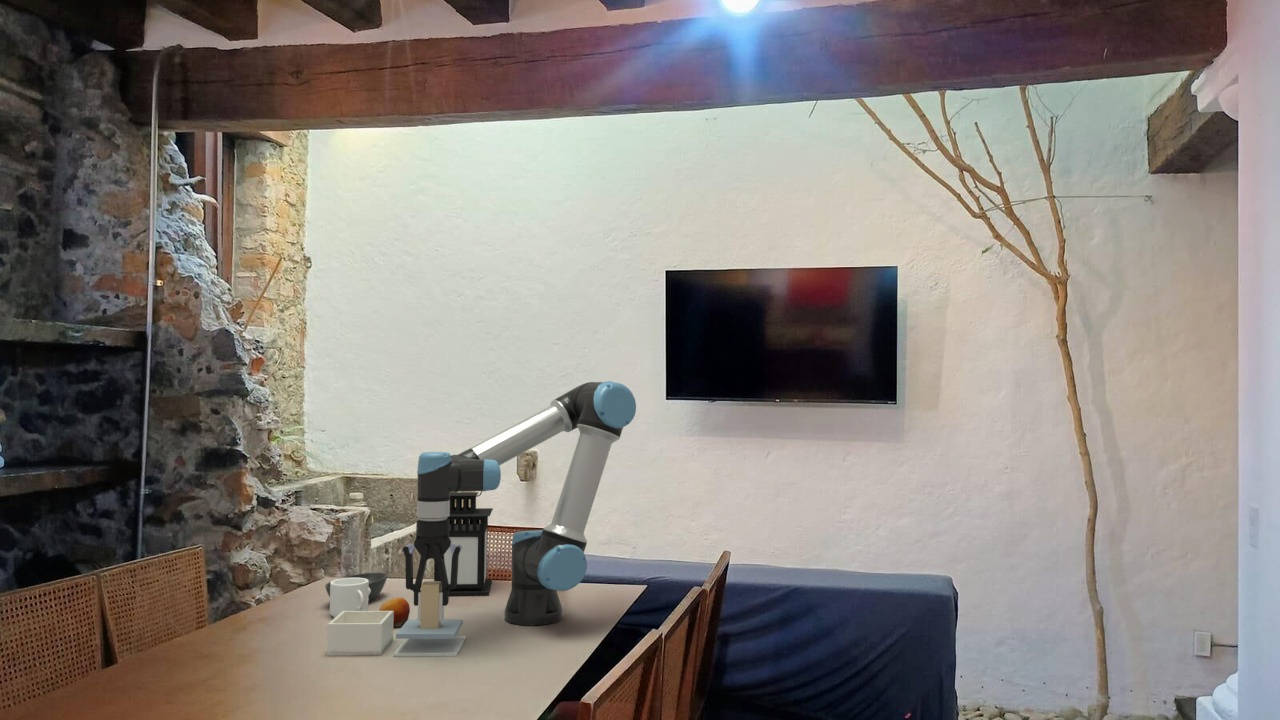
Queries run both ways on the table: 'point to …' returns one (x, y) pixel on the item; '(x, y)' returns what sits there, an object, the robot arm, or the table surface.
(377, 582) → the bowl
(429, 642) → the mat
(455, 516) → the lantern
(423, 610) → the lid
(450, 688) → the table surface
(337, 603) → the mug
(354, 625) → the white open storage bin
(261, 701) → the table surface
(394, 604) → the fruit
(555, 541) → the robot arm
